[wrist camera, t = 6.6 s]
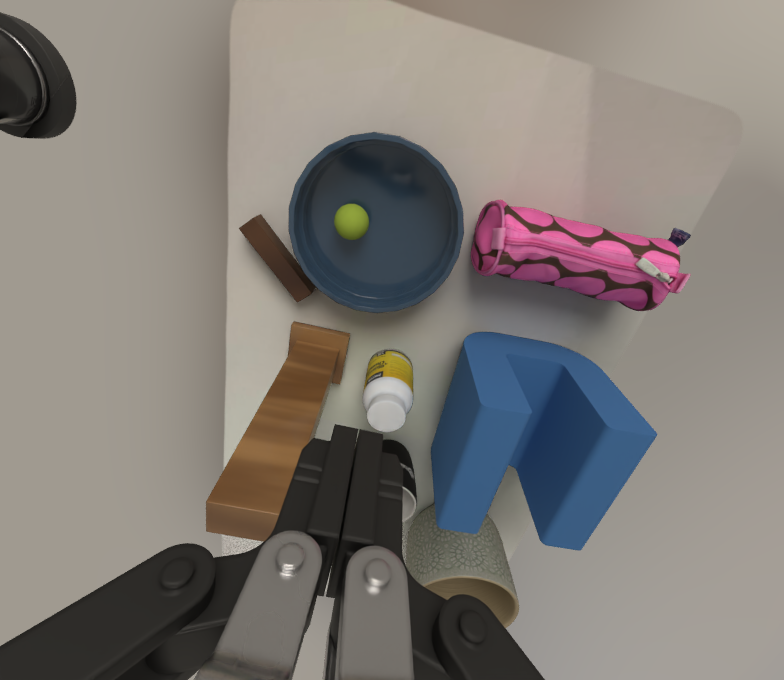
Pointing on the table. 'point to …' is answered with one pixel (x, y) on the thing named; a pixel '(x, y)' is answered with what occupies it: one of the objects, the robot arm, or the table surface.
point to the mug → (404, 476)
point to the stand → (277, 436)
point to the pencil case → (577, 256)
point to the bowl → (377, 222)
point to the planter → (462, 564)
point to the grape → (351, 221)
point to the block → (533, 437)
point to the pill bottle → (388, 390)
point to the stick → (277, 257)
